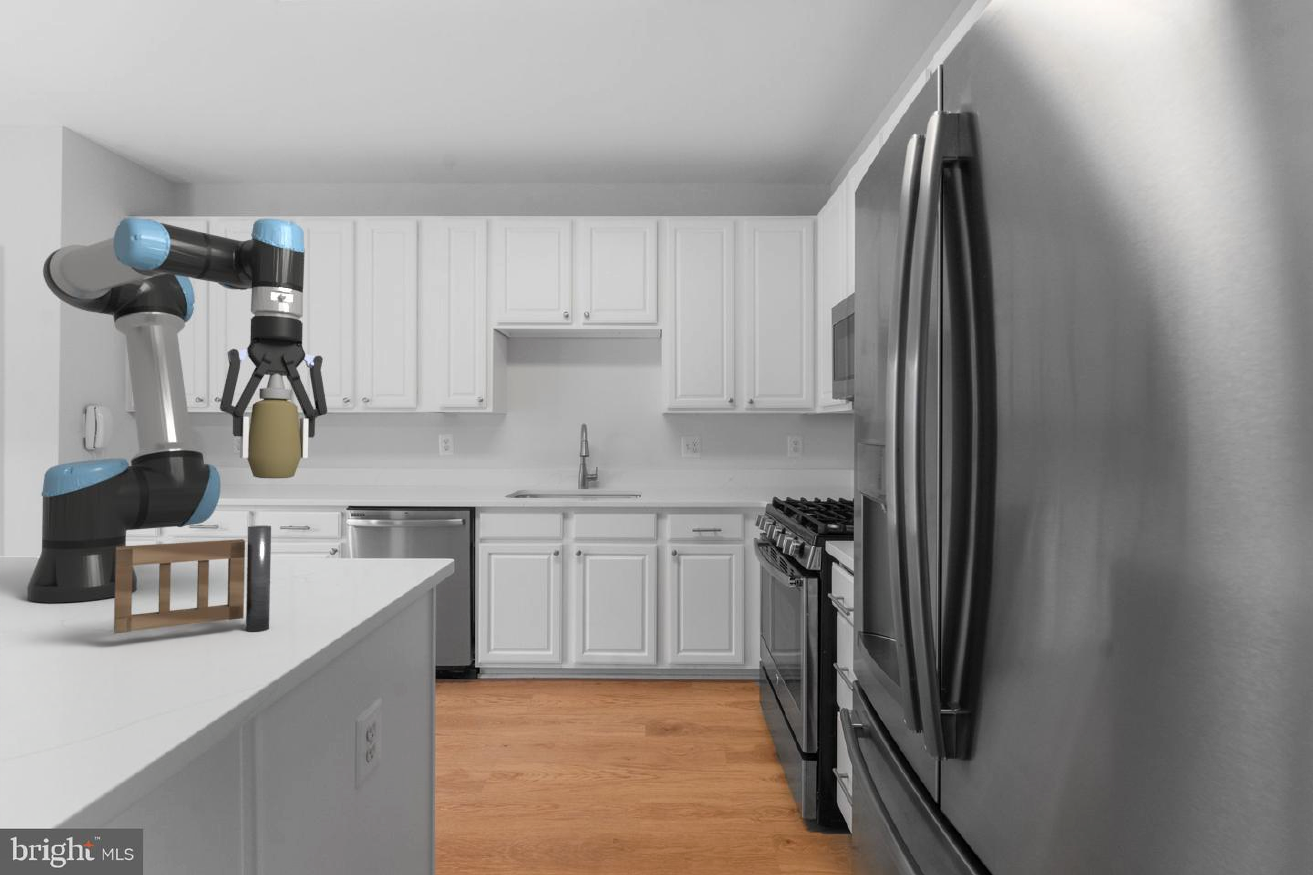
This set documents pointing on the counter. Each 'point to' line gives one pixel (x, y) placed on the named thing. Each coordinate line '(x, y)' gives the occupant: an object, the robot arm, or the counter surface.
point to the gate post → (258, 578)
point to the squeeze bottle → (274, 432)
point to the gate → (165, 557)
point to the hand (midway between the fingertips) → (274, 457)
